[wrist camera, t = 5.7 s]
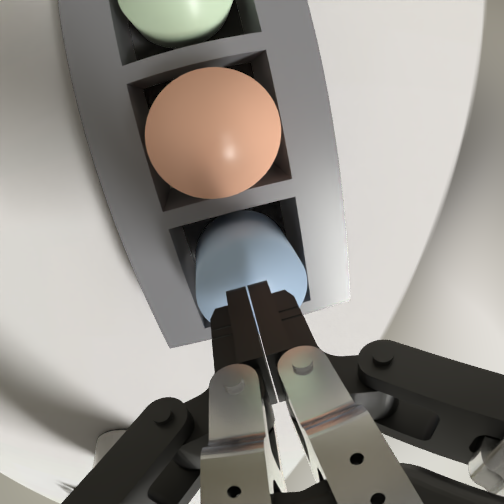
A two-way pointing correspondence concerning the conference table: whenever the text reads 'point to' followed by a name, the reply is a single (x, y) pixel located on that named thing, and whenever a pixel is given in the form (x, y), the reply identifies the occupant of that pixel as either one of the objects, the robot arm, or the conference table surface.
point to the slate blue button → (245, 259)
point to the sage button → (176, 20)
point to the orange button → (213, 132)
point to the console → (196, 209)
